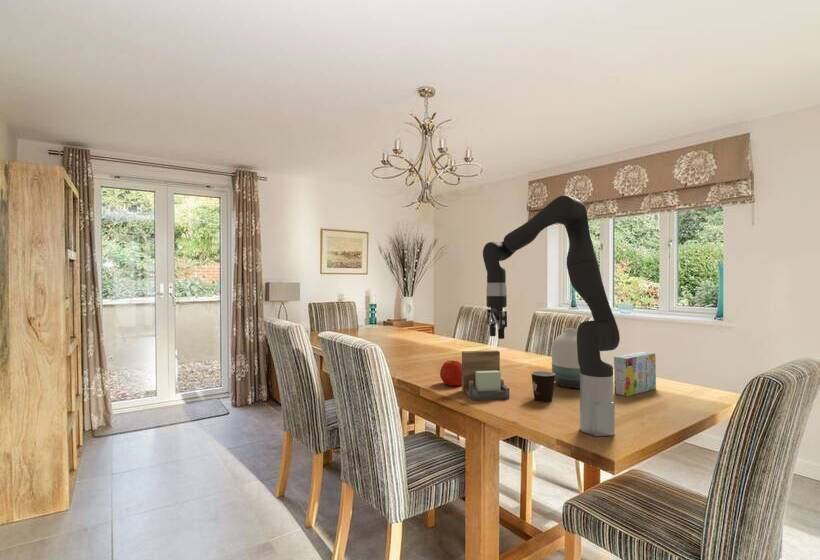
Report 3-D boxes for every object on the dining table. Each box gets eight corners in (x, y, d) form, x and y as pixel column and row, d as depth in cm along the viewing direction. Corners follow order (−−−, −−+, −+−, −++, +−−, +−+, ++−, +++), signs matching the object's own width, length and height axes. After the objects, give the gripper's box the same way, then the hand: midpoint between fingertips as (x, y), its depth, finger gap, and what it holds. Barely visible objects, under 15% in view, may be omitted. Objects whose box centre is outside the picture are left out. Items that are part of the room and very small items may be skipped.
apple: (435, 384, 189) (435, 359, 189) (452, 380, 197) (452, 356, 197) (453, 389, 181) (453, 363, 181) (470, 384, 189) (470, 360, 189)
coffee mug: (556, 403, 160) (556, 376, 160) (532, 402, 162) (532, 375, 162) (552, 395, 172) (552, 369, 172) (529, 394, 174) (530, 368, 173)
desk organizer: (510, 398, 167) (510, 356, 167) (472, 400, 165) (472, 357, 164) (497, 389, 181) (497, 350, 181) (461, 390, 179) (461, 351, 179)
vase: (566, 391, 177) (566, 332, 177) (544, 381, 194) (544, 327, 193) (603, 389, 181) (603, 331, 181) (578, 379, 198) (578, 326, 197)
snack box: (643, 386, 186) (643, 351, 186) (656, 389, 181) (656, 353, 181) (613, 393, 174) (613, 355, 174) (626, 397, 170) (626, 358, 170)
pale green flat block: (500, 398, 168) (500, 372, 168) (477, 399, 167) (478, 372, 167) (497, 396, 171) (497, 370, 171) (475, 397, 170) (475, 371, 169)
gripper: (513, 295, 161) (513, 339, 160) (498, 294, 175) (499, 335, 175) (493, 295, 159) (494, 340, 159) (480, 294, 173) (481, 335, 173)
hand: (496, 337), depth 167 cm, fingers open, 8 cm apart
